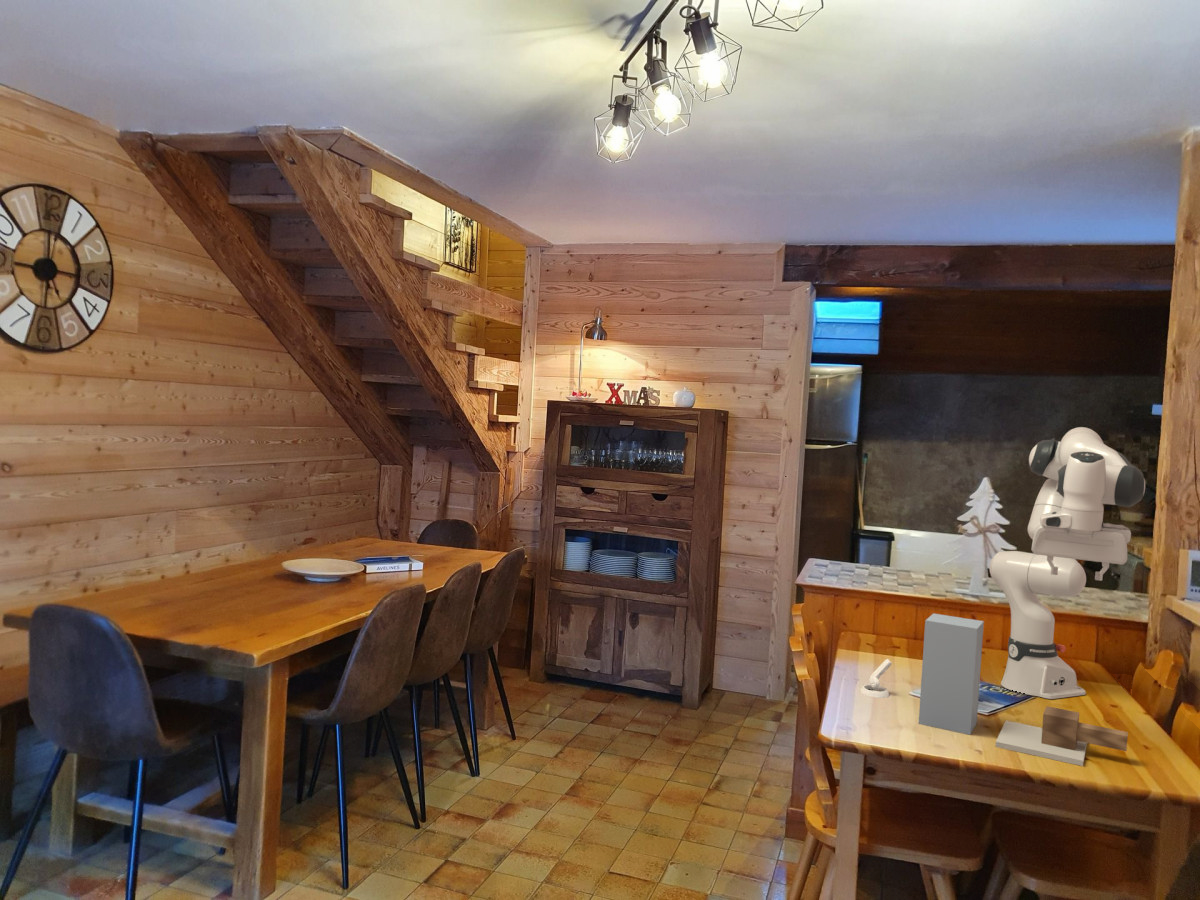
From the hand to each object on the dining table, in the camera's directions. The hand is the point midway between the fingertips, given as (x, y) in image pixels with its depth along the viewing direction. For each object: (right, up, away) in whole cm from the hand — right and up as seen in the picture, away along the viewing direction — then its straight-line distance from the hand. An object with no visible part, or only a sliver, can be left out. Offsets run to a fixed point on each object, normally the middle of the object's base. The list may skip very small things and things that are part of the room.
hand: (1076, 577), depth 211 cm
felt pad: (-10, -39, -3) cm, 41 cm away
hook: (-39, -37, +30) cm, 62 cm away
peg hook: (-2, -39, -7) cm, 39 cm away
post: (-27, -38, +9) cm, 48 cm away
